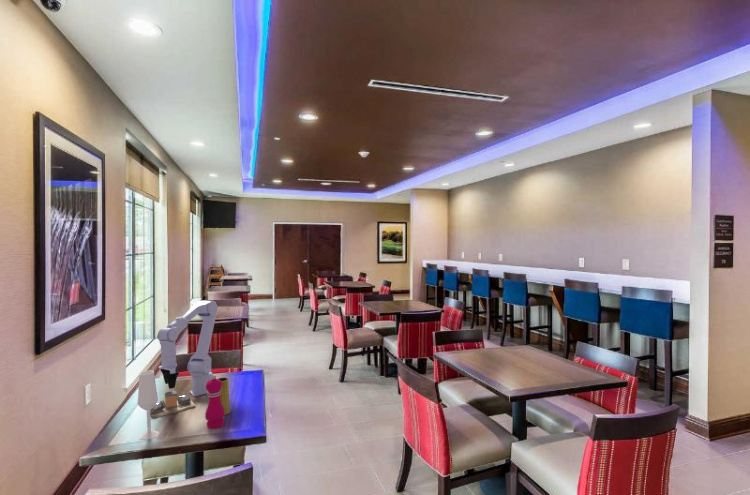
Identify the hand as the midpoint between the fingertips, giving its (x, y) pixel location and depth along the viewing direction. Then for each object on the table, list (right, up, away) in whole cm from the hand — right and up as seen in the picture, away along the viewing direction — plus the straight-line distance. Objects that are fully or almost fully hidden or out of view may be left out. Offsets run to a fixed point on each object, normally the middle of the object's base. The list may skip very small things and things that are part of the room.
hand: (169, 385), depth 181 cm
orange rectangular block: (+1, -9, -1) cm, 9 cm away
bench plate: (+1, -10, 0) cm, 10 cm away
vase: (+26, -10, -6) cm, 28 cm away
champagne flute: (+5, -11, -25) cm, 27 cm away
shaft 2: (+5, -10, +3) cm, 11 cm away
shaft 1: (-3, -10, -5) cm, 12 cm away
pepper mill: (+27, -10, -18) cm, 34 cm away
